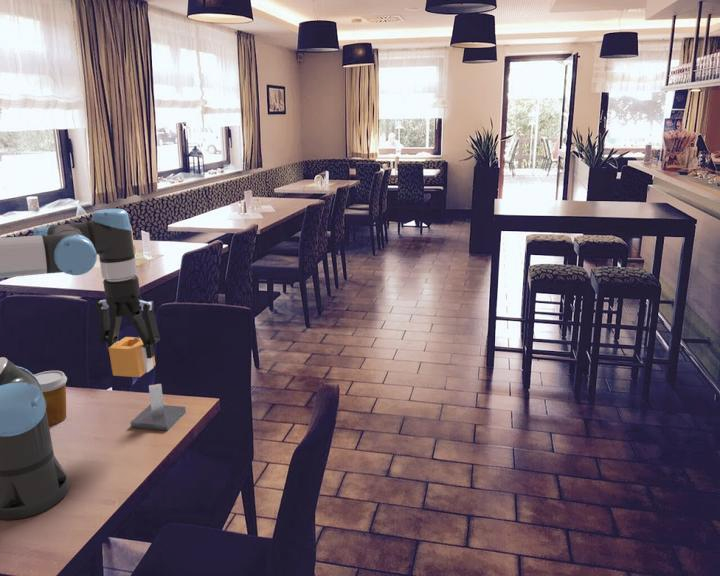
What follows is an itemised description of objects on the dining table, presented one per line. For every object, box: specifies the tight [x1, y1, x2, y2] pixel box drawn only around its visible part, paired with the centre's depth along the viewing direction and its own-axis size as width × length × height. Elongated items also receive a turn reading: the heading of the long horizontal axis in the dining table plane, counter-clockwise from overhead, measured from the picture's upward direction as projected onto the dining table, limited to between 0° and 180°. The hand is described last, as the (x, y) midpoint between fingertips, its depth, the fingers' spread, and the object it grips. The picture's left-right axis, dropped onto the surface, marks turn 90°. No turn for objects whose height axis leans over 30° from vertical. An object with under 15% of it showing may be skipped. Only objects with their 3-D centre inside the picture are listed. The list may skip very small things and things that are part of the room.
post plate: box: [130, 383, 187, 432], centre depth 154 cm, size 10×10×10 cm
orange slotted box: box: [108, 336, 156, 378], centre depth 143 cm, size 7×7×7 cm
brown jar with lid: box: [33, 370, 68, 426], centre depth 155 cm, size 10×10×12 cm
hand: (134, 369), depth 144 cm, fingers closed on orange slotted box, 7 cm apart
